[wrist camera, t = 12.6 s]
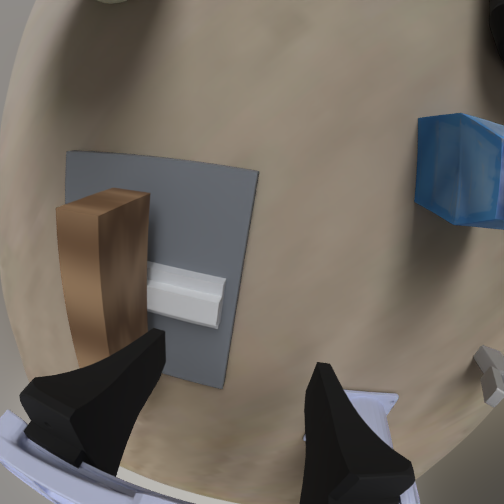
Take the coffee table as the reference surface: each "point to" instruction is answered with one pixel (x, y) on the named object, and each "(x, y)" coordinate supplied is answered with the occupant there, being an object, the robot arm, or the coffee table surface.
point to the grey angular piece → (491, 374)
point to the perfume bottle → (461, 169)
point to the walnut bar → (104, 270)
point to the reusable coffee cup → (111, 1)
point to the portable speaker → (497, 24)
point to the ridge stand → (183, 248)
